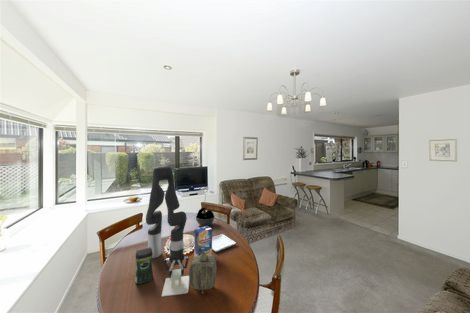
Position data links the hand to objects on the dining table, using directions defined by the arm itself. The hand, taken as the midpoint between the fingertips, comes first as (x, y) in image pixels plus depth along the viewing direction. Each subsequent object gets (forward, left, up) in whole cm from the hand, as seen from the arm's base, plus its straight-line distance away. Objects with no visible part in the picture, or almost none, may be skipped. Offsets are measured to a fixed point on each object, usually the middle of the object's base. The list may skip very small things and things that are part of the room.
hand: (176, 275), depth 105 cm
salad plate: (-43, +30, -7) cm, 53 cm away
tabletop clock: (+7, +15, -6) cm, 18 cm away
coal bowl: (-87, +20, -6) cm, 89 cm away
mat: (0, 0, -6) cm, 6 cm away
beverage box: (-25, +16, -6) cm, 30 cm away
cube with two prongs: (0, 0, -5) cm, 5 cm away
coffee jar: (-9, -20, -6) cm, 23 cm away
